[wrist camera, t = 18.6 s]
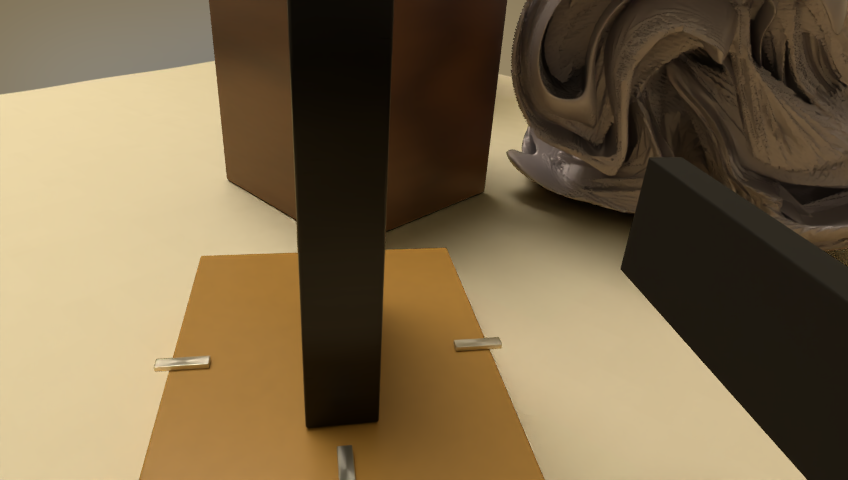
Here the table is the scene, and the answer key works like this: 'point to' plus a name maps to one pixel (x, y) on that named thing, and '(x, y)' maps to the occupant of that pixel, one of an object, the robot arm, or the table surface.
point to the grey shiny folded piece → (690, 101)
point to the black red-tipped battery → (341, 199)
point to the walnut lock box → (409, 108)
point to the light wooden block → (284, 389)
